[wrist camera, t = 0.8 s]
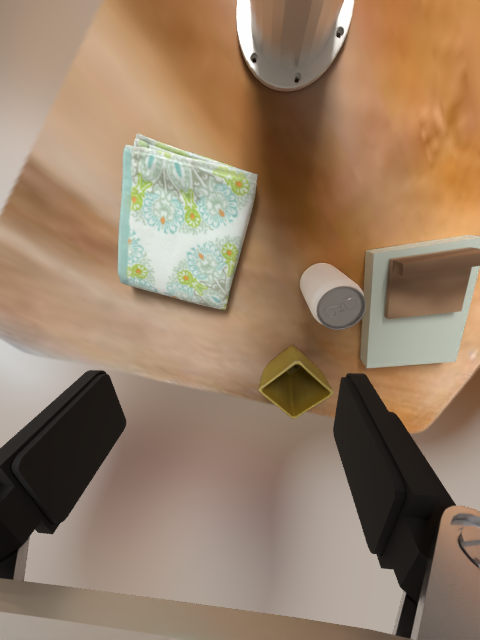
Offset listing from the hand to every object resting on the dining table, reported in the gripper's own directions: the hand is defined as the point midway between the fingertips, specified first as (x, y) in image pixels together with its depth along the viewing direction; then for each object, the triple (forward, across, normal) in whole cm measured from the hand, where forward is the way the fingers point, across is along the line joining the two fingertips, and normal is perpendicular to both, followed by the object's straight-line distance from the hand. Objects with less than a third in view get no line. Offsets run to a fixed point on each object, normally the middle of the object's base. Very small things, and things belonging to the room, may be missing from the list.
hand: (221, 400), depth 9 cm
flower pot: (+31, -6, +20) cm, 38 cm away
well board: (+31, -25, +9) cm, 41 cm away
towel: (+32, +10, -5) cm, 34 cm away
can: (+31, -11, +4) cm, 33 cm away
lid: (+28, -25, +4) cm, 38 cm away
